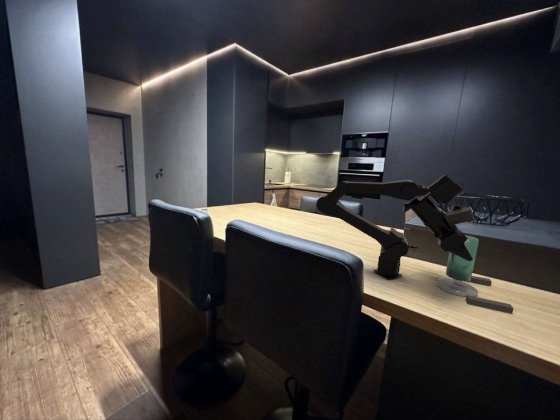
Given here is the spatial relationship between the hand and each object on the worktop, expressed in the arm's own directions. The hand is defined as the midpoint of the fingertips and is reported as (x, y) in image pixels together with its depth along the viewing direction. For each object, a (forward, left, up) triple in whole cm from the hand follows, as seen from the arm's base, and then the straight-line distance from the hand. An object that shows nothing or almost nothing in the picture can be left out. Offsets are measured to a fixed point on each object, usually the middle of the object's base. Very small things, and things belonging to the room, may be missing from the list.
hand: (468, 256), depth 68 cm
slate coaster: (-1, +1, -10) cm, 10 cm away
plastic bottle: (+18, +33, -11) cm, 39 cm away
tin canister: (-1, +1, -7) cm, 7 cm away
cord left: (+8, +2, -10) cm, 13 cm away
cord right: (-3, -8, -10) cm, 13 cm away
